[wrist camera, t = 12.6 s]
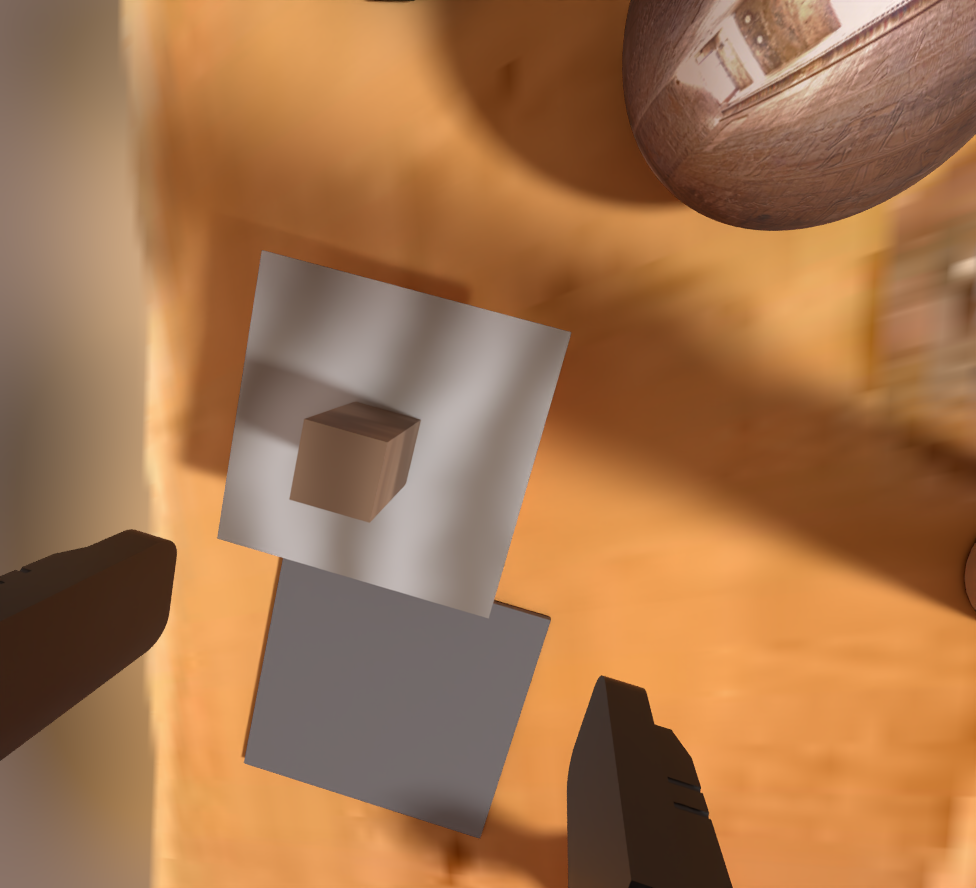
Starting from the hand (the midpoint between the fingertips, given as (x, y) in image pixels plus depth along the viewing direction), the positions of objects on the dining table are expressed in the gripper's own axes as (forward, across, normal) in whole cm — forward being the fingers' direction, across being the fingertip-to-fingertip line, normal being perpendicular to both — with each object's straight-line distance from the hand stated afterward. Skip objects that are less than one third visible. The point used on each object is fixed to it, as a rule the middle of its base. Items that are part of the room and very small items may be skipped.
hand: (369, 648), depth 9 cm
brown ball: (+26, -8, -21) cm, 34 cm away
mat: (+25, +3, +21) cm, 33 cm away
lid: (+19, +6, +1) cm, 20 cm away
